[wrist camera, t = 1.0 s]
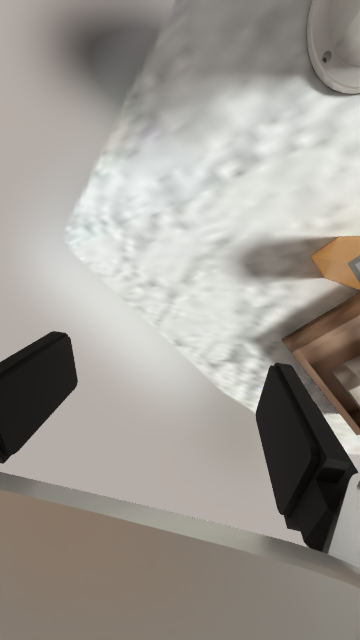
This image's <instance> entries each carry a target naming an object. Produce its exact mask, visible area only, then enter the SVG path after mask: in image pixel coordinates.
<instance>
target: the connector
mask: <svg viewBox="0 0 360 640" xmlns="http://www.w3.org/2000/svg"><path fill="white" fill-rule="evenodd" d="M311 258H312V260H313V261H314V263H315V264H316V266H317V267H318V269H319V270H320V272H321V273H322V275H323V276H324V278H326V279H329V280H332V281H335V282H338V283H341V284H344V285H347V286H350V287H353V288H356V289H359V290H360V236H340V237H337V238H336V239H335V240H333V241H332V242H330V243H329V244H328V245H326V246H325V247H323V248H322V249H321V250H319V251H318V252H316V253H315V254H314V255H312V256H311Z"/></svg>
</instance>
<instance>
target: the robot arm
mask: <svg viewBox="0 0 360 640" xmlns="http://www.w3.org/2000/svg"><path fill="white" fill-rule="evenodd" d="M307 43H308V52H309V56H310V60H311V63H312V66H313V68H314V70H315V72H316V74H317V75H318V77H319V78H320V79H321V80H322V81H323V83H324V84H326V85H327V86H329V87H330V88H331V89H333V90H336V91H339V92H342V93H350V94H356V93H360V0H312V2H311V7H310V12H309V16H308V27H307ZM323 61H324V62H323ZM77 382H78V380H77V375H76V368H75V362H74V356H73V350H72V345H71V339H70V337H68V335H67V334H66V333H62V332H55V331H53V332H50V333H49V334H47V335H46V336H44V337H42V338H40V339H39V340H37V341H35V342H33V343H32V344H30V345H28V346H27V347H25V348H23V349H22V350H20V351H18V352H17V353H15V354H13V355H11V356H10V357H8V358H7V359H5V360H3V361H1V362H0V463H4V462H6V460H7V459H8V458H9V457H10V456H11V455H12V454H15V453H16V452H17V451H19V450H20V448H21V447H22V446H23V445H24V444H25V443H26V442H27V441H28V439H30V437H31V436H32V435H33V434H34V433H35V432H36V431H37V430H38V428H39V427H40V426H41V425H42V424H43V423H44V422H45V421H46V420H47V419H48V418H49V416H50V415H51V414H52V413H53V412H54V411H55V410H56V409H57V408H58V406H59V405H60V404H61V403H62V402H63V401H64V400H65V399H66V398H67V396H68V395H69V394H70V393H71V392H72V391H73V390H74V389H75V387H76V386H77ZM256 421H257V425H258V429H259V434H260V438H261V442H262V446H263V450H264V455H265V459H266V463H267V467H268V471H269V475H270V480H271V483H272V488H273V492H274V496H275V500H276V505H277V508H278V511H279V513H280V514H282V515H284V518H285V521H286V525H287V528H288V529H293V530H297V531H301V534H302V537H303V540H304V542H305V544H306V545H307V546H306V547H304V546H301V545H298V544H295V543H292V542H288V541H284V540H280V539H277V538H273V537H269V536H265V535H261V534H258V533H254V532H250V531H246V530H242V529H239V528H235V527H231V526H227V525H223V524H219V523H215V522H211V521H206V520H202V519H198V518H194V517H190V516H185V515H181V514H177V513H173V512H168V511H165V510H160V509H156V508H152V507H148V506H143V505H140V504H136V503H131V502H127V501H122V500H118V499H114V498H110V497H106V496H101V495H97V494H93V493H89V492H84V491H80V490H76V489H71V488H67V487H63V486H58V485H54V484H50V483H46V482H41V481H37V480H33V479H28V478H24V477H20V476H15V475H11V474H6V473H2V472H0V640H360V473H358V471H357V469H356V468H355V466H354V465H353V463H352V461H351V460H350V458H349V456H348V455H347V453H346V452H345V450H344V448H343V447H342V445H341V444H340V442H339V440H338V439H337V437H336V435H335V434H334V432H333V431H332V429H331V427H330V426H329V424H328V423H327V421H326V419H325V418H324V416H323V414H322V413H321V411H320V410H319V408H318V406H317V405H316V404H315V402H314V401H313V400H312V398H311V396H310V395H309V393H308V391H307V390H306V388H305V387H304V385H303V383H302V382H301V380H300V378H299V377H298V375H297V374H296V372H295V370H294V369H293V367H292V366H291V365H288V364H281V363H275V365H274V366H270V368H269V371H268V374H267V377H266V381H265V384H264V387H263V390H262V394H261V397H260V400H259V403H258V407H257V410H256Z"/></svg>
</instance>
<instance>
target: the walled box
mask: <svg viewBox="0 0 360 640" xmlns="http://www.w3.org/2000/svg"><path fill="white" fill-rule="evenodd" d="M282 340H283V342H284V343H285V344H286V346H287V347H288V349H289V350H290V351H291V353H292V354H293V355H294V357H295V358H296V359H297V360H298V362H299V363H300V364H301V365H302V367H303V368H304V369H305V371H306V372H307V373H308V374H309V376H310V377H311V378H312V379H313V381H314V382H315V383H316V384H317V386H318V387H319V388H320V389H321V391H322V392H323V393H324V395H325V396H326V397H327V398H328V400H329V401H330V402H331V403H332V405H333V406H334V407H335V408H336V410H337V411H338V412H339V413H340V415H341V416H342V417H343V418H344V420H345V421H346V422H347V424H348V425H349V426H350V427H351V429H352V430H353V431H354V432H355V434H356V435H360V293H359V294H357V295H355V296H354V297H352V298H350V299H348V300H347V301H345V302H343V303H342V304H340V305H338V306H337V307H335V308H333V309H332V310H330V311H328V312H327V313H325V314H323V315H322V316H320V317H318V318H316V319H315V320H313V321H311V322H310V323H308V324H306V325H305V326H303V327H301V328H300V329H298V330H296V331H295V332H293V333H291V334H289V335H288V336H286V337H284V338H283V339H282Z"/></svg>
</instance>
